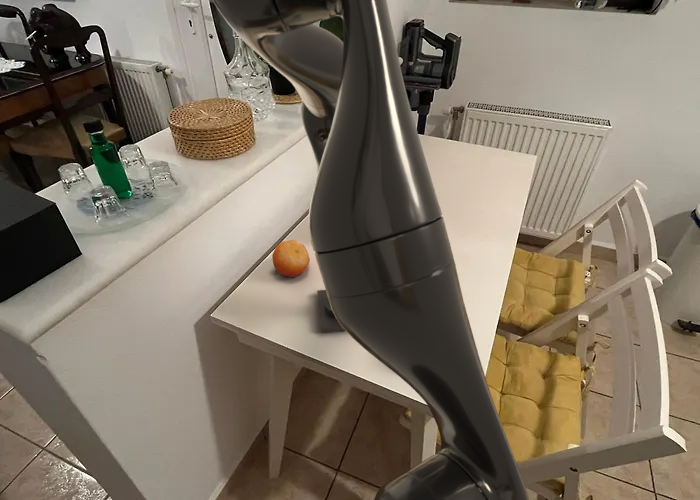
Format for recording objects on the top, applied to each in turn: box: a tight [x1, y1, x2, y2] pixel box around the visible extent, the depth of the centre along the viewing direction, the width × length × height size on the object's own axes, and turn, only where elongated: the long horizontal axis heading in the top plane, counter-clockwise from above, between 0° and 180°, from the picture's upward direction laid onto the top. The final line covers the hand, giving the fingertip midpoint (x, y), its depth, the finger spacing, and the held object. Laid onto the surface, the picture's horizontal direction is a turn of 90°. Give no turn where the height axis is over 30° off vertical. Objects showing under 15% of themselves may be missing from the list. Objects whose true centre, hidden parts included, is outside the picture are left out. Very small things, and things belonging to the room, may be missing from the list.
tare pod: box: [316, 289, 346, 334], centre depth 84 cm, size 10×8×3 cm
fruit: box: [271, 240, 311, 278], centre depth 92 cm, size 8×8×8 cm
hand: (340, 287), depth 81 cm, fingers closed
